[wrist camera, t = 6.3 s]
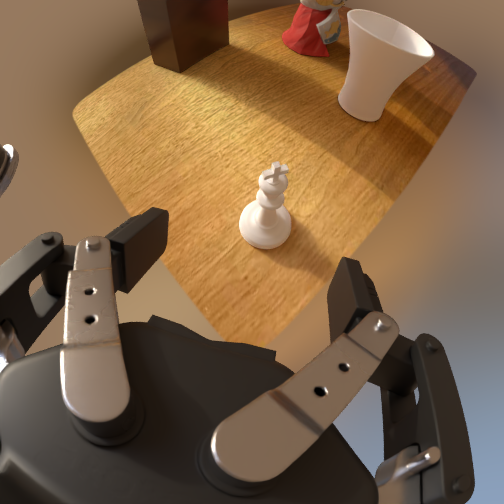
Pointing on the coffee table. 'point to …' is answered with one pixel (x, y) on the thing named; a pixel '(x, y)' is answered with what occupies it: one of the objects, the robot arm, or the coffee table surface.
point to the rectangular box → (184, 30)
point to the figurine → (314, 27)
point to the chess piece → (267, 211)
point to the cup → (378, 62)
